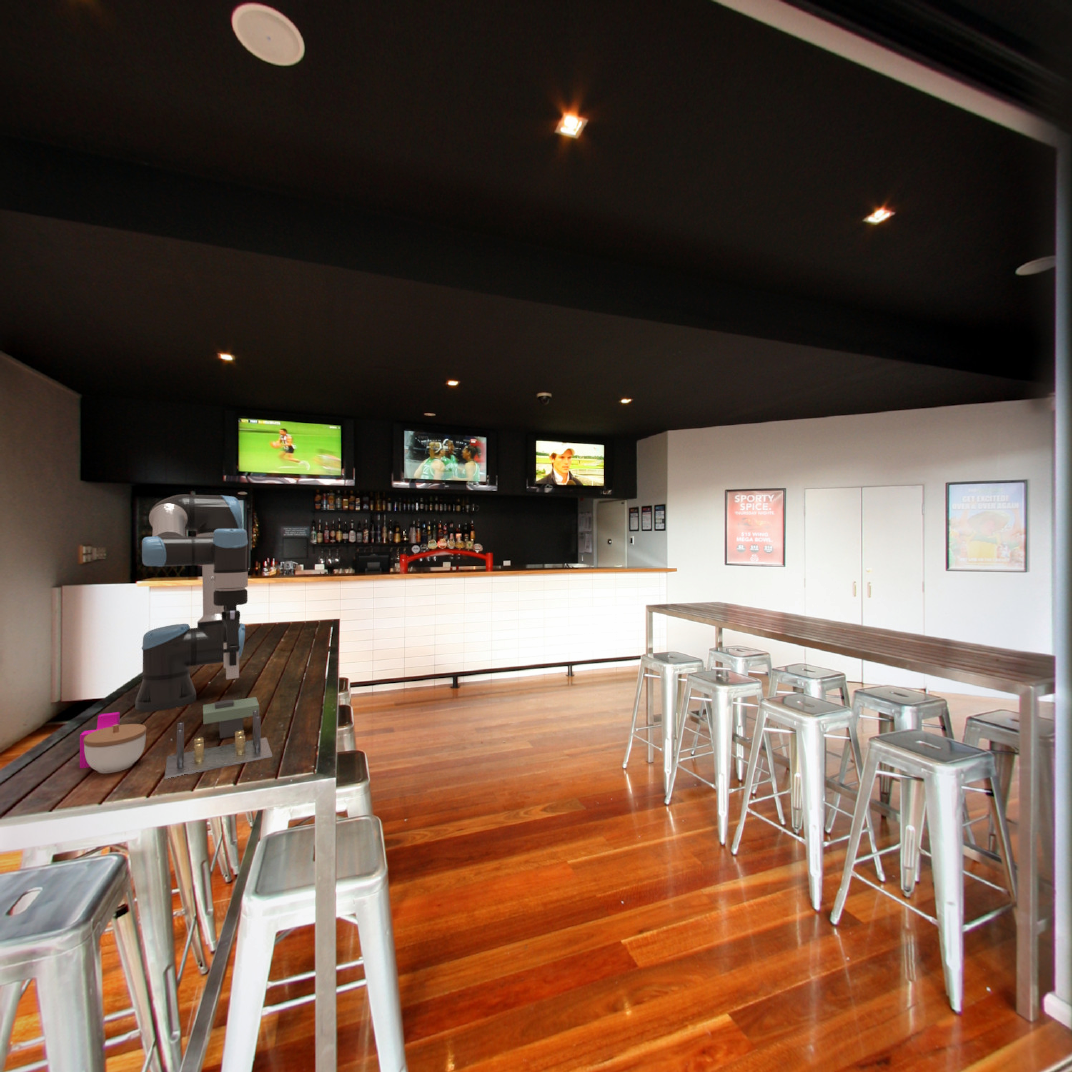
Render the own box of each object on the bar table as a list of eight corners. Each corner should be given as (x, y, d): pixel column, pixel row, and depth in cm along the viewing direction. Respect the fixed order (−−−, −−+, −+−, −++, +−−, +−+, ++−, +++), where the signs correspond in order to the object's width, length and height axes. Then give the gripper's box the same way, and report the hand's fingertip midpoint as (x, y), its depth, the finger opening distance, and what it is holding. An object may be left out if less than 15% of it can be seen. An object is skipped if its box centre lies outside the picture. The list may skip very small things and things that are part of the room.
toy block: (115, 764, 117) (115, 730, 117) (79, 769, 114) (79, 735, 114) (132, 740, 131) (132, 710, 131) (100, 745, 128) (100, 714, 128)
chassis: (167, 760, 119) (167, 720, 119) (266, 741, 130) (266, 704, 130) (164, 781, 109) (164, 737, 109) (272, 758, 120) (272, 719, 120)
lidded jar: (146, 770, 114) (147, 726, 114) (81, 784, 107) (81, 738, 107) (145, 753, 123) (145, 713, 122) (85, 765, 116) (85, 723, 116)
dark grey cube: (219, 733, 135) (219, 713, 135) (241, 729, 138) (241, 710, 138) (220, 739, 131) (220, 719, 131) (243, 735, 134) (243, 715, 134)
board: (203, 714, 134) (203, 701, 134) (256, 706, 141) (256, 693, 141) (203, 724, 128) (203, 709, 128) (259, 714, 134) (259, 701, 134)
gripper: (212, 586, 143) (212, 664, 143) (215, 594, 122) (215, 686, 122) (243, 584, 147) (244, 660, 147) (251, 592, 126) (252, 681, 126)
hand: (231, 672), depth 134 cm, fingers open, 13 cm apart
